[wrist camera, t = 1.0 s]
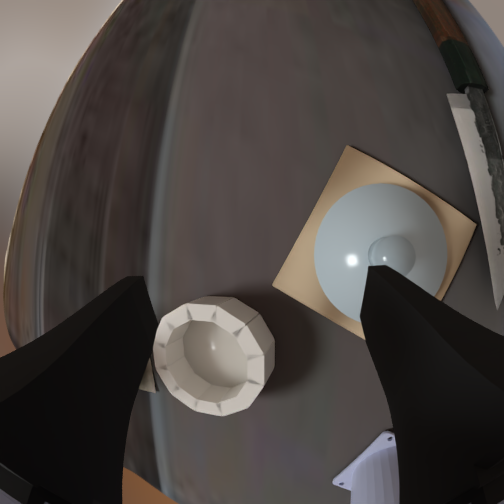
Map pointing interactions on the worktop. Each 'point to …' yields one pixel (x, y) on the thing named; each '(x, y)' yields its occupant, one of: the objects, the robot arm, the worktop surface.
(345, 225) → the lid
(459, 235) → the mat
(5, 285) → the worktop surface
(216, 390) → the bowl
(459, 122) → the kitchen knife
